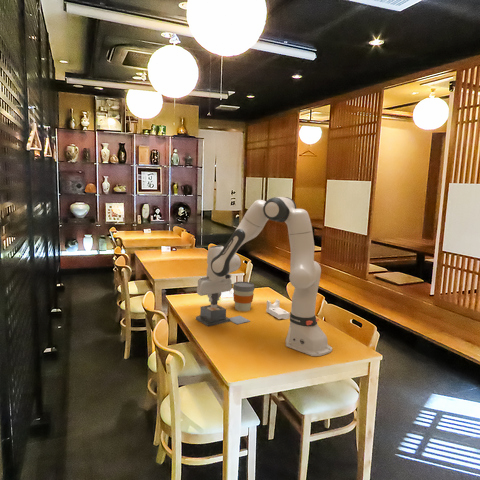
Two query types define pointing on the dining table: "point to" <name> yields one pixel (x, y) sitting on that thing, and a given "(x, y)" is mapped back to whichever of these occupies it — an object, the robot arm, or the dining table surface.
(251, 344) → the dining table surface
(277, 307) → the bracket
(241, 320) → the rest mat
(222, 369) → the dining table surface
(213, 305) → the stylus
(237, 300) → the reusable coffee cup
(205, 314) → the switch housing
